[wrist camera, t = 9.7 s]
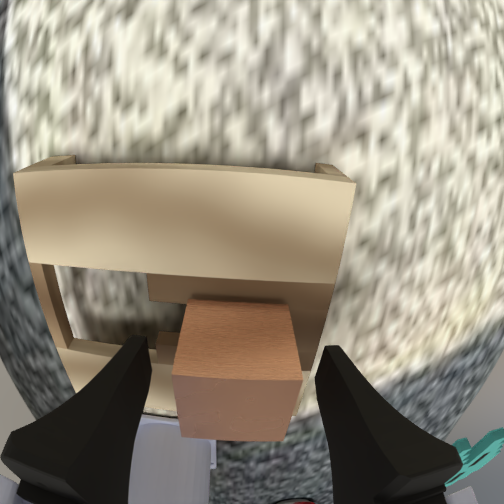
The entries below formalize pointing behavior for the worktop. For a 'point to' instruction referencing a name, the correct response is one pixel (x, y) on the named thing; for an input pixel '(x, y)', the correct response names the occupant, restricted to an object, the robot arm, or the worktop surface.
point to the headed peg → (236, 371)
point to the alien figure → (477, 453)
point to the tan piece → (185, 245)
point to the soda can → (296, 501)
